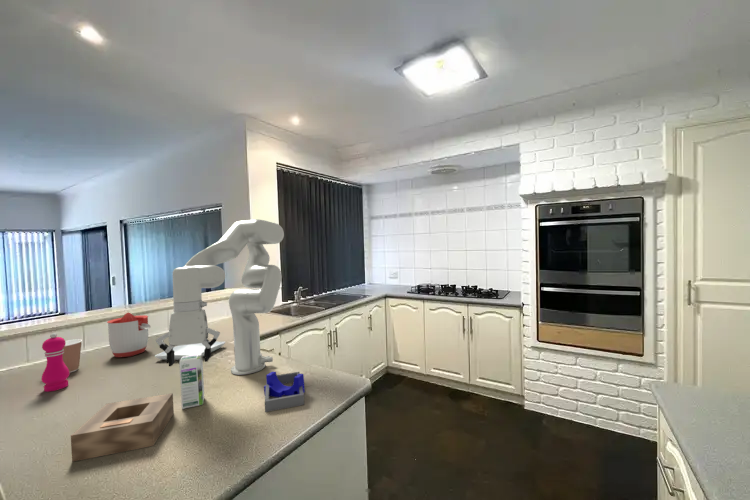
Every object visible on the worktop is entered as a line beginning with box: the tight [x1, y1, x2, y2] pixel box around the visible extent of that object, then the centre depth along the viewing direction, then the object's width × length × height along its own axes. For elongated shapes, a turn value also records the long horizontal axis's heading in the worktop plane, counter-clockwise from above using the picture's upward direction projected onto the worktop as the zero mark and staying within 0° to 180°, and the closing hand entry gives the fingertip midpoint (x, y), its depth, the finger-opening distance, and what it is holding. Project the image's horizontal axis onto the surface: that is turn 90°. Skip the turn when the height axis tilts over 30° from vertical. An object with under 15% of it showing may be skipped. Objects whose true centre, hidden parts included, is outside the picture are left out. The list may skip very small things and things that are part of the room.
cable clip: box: [263, 371, 306, 398], centre depth 102 cm, size 12×4×6 cm, turn 71°
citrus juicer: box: [106, 312, 151, 358], centre depth 153 cm, size 16×17×20 cm
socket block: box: [70, 392, 175, 462], centre depth 83 cm, size 16×16×6 cm
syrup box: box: [178, 353, 205, 410], centre depth 98 cm, size 6×6×14 cm
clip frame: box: [264, 371, 305, 413], centre depth 102 cm, size 11×19×3 cm, turn 17°
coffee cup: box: [63, 338, 83, 374], centre depth 133 cm, size 10×10×12 cm
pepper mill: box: [41, 332, 71, 392], centre depth 116 cm, size 7×7×20 cm
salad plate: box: [154, 340, 226, 361], centre depth 148 cm, size 21×21×3 cm
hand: (189, 362), depth 98 cm, fingers open, 9 cm apart
